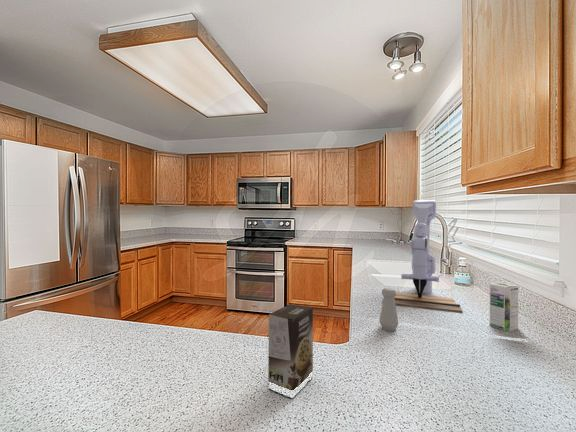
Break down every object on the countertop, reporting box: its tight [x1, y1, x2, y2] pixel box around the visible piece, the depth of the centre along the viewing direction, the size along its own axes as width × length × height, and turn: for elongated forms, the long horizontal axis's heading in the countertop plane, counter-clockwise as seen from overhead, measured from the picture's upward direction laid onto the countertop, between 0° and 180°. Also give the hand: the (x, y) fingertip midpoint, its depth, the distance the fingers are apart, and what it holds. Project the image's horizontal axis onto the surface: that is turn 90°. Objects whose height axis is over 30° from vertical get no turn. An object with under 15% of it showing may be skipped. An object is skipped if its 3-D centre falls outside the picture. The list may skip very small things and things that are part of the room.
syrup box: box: [488, 282, 519, 332], centre depth 93 cm, size 6×6×14 cm
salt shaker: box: [378, 287, 399, 332], centre depth 93 cm, size 6×6×13 cm
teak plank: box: [394, 291, 457, 304], centre depth 123 cm, size 10×26×2 cm, turn 67°
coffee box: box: [267, 303, 314, 390], centre depth 63 cm, size 9×6×16 cm
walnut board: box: [382, 298, 463, 314], centre depth 114 cm, size 6×28×2 cm, turn 67°
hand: (419, 297), depth 123 cm, fingers closed
